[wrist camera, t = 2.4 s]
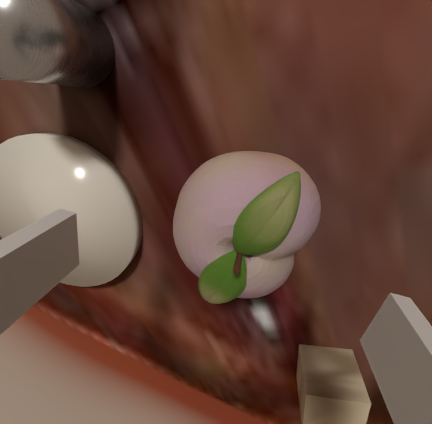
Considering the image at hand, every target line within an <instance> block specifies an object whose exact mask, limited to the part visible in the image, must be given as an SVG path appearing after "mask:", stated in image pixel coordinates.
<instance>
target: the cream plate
mask: <svg viewBox="0 0 432 424" xmlns="http://www.w3.org/2000/svg"><path fill="white" fill-rule="evenodd" d="M58 209H63V210H67V211H71V212H75V213H76V215H77V232H78V249H79V265H78V266H77V267H76V268H75V269H74V270H73V271H71V272H70V273H69V274H68V275H67V276H66V277H65V278H64V279H62V280H61V281H60V282H61V283H64V284H68V285H73V286H81V287H89V286H97V285H101V284H105V283H107V282H109V281H111V280H113V279H114V278H116V277H117V276H118V275H120V274H121V273H122V272H123V271H124V269H125V268H126V267H127V266H128V265H129V264H130V262H131V261H132V260H133V258H134V257H135V255H136V254H137V252H138V250H139V246H140V243H141V238H142V218H141V212H140V209H139V205H138V202H137V200H136V197H135V195H134V193H133V191H132V189H131V187H130V185H129V183H128V182H127V180H126V179H125V178H124V176H123V175H122V173H121V172H120V171H119V170H118V169H117V167H116V166H115V165H114V164H113V163H112V162H111V161H110V160H109V159H108V158H107V157H105V156H104V155H103V154H102V153H100V152H99V151H98V150H96V149H95V148H93V147H92V146H90V145H88V144H87V143H85V142H83V141H81V140H78V139H76V138H74V137H70V136H67V135H64V134H58V133H36V134H28V135H21V136H17V137H14V138H11V139H8V140H7V141H5V142H3V143H2V144H0V236H1V238H2V239H3V238H5V237H7V236H9V235H11V234H13V233H15V232H16V231H18V230H20V229H22V228H24V227H26V226H28V225H30V224H32V223H34V222H35V221H37V220H39V219H41V218H43V217H45V216H47V215H49V214H51V213H52V212H54V211H56V210H58Z"/></svg>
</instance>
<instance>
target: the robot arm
mask: <svg viewBox="0 0 432 424" xmlns="http://www.w3.org/2000/svg"><path fill="white" fill-rule="evenodd" d="M78 265H79V249H78V232H77V215H76V213H75V212H71V211H67V210H63V209H58V210H56V211H54V212H52V213H51V214H49V215H47V216H45V217H43V218H41V219H39V220H37V221H35V222H34V223H32V224H30V225H28V226H26V227H24V228H22V229H20V230H18V231H16V232H15V233H13V234H11V235H9V236H7V237H5V238H3V239H1V240H0V334H2V333H3V332H4V331H5V330H6V329H7V328H8V327H10V326H11V325H12V324H13V323H14V322H15V321H16V320H17V319H18V318H20V317H21V316H22V315H23V314H24V313H25V312H26V311H28V309H30V308H31V307H32V306H33V305H34V304H35V303H37V302H38V301H39V300H40V299H41V298H42V297H43V296H44V295H46V294H47V293H48V292H49V291H50V290H51V289H52V288H53V287H55V286H56V285H57V284H58V283H59V282H60V281H61V280H62V279H64V278H65V277H66V276H67V275H68V274H69V273H70V272H71V271H73V270H74V269H75V268H76V267H77V266H78ZM360 342H361V345H362V347H363V350H364V352H365V355H366V357H367V359H368V362H369V364H370V367H371V369H372V372H373V374H374V377H375V379H376V382H377V384H378V386H379V389H380V391H381V394H382V396H383V399H384V401H385V404H386V406H387V409H388V411H389V413H390V416H391V418H392V421H393V423H394V424H432V326H431V325H430V323H429V322H428V321H427V319H426V318H425V317H424V316H423V314H422V313H421V312H420V310H419V309H418V308H417V306H416V305H415V304H414V302H413V301H412V300H411V298H409V297H405V296H401V295H397V294H393V293H389V295H388V297H387V298H386V300H385V301H384V303H383V305H382V306H381V308H380V309H379V311H378V312H377V314H376V316H375V317H374V319H373V320H372V322H371V323H370V325H369V327H368V328H367V330H366V331H365V333H364V334H363V336H362V338H361V339H360Z"/></svg>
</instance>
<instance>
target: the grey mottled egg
mask: <svg viewBox="0 0 432 424" xmlns="http://www.w3.org/2000/svg"><path fill="white" fill-rule="evenodd" d="M114 60H115V49H114V43H113V39H112V36H111V34H110V31H109V29H108V27H107V26H106V24H105V23H104V21H103V20H102V19H101V18H100V17H99V16H98V15H97V14H96V13H95V12H93V11H92V10H90V9H88V8H86V7H85V6H83V5H81V4H79V3H77V2H75V1H73V0H0V79H3V80H14V81H25V82H36V83H47V84H58V85H69V86H80V87H95V86H98V85H100V84H102V83H103V82H104V81H105V80H106V79H107V78H108V77H109V75H110V74H111V71H112V69H113V66H114Z"/></svg>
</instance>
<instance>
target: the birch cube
mask: <svg viewBox="0 0 432 424" xmlns="http://www.w3.org/2000/svg"><path fill="white" fill-rule="evenodd" d="M296 378H297V387H298V396H299V405H300V414H301V423H302V424H366V422H367V418H368V415H369V411H370V407H371V402H370V399H369V396H368V393H367V390H366V387H365V384H364V382H363V379H362V376H361V373H360V370H359V367H358V364H357V362H356V359H355V356H354V353H353V350H351V349H341V348H331V347H321V346H312V345H302V344H299V350H298V363H297V376H296Z"/></svg>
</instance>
